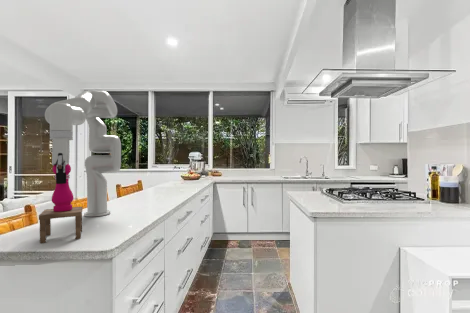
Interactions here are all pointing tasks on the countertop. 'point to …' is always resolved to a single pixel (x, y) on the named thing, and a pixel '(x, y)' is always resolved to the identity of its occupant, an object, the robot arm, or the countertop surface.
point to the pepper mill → (62, 193)
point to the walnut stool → (50, 214)
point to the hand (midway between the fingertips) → (62, 182)
